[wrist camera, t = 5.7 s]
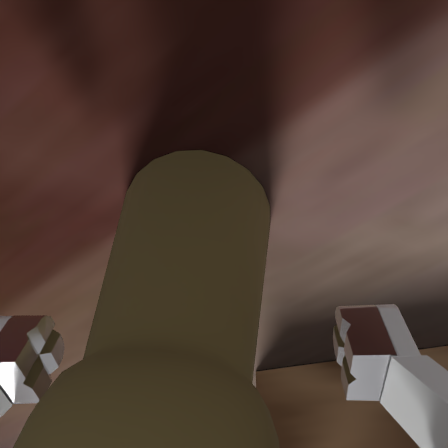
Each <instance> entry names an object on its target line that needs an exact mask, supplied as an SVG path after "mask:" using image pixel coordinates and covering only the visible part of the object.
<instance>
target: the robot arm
mask: <svg viewBox="0 0 448 448" xmlns="http://www.w3.org/2000/svg"><path fill="white" fill-rule="evenodd" d="M335 319H336V323H337V325H336V326H335V327H334V328H333V346H334V352H335V357H336V361H337V363H338V364H339V365H340V366H342V367H341V375H340V378H341V381H342V385H343V389H344V393H345V397H346V400H362V401H380V403H381V404H382V405H383V407H384V408H385V409H386V410H387V411H388V412H389V413H390V414H391V415H392V417H393V418H394V419H395V420H396V421H397V422H398V423H399V424H400V426H401V427H402V428H403V429H404V430H405V431H406V432H407V433H408V435H409V436H410V437H411V438H412V439H413V440H414V441H415V442H416V444H417V445H418V446H419V447H420V448H448V371H447V370H446V369H445V368H443V367H442V366H441V365H439V364H438V363H437V362H435V361H434V360H433V359H431V358H430V357H429V356H427V355H421V354H420V352H419V350H418V348H417V346H416V344H415V342H414V340H413V338H412V336H411V333H410V331H409V329H408V327H407V325H406V323H405V321H404V319H403V317H402V315H401V313H400V311H399V309H398V307H397V306H396V305H395V304H382V305H355V306H337V307H336V310H335ZM54 326H55V323H54V321H53V319H52V318H51V316H0V417H1V416H2V415H3V414H4V413H5V412H6V411H7V410H8V409H9V408H10V407H11V406H12V404H23V403H38V402H39V400H40V399H41V397H42V396H43V395H44V394H45V392H46V391H47V390H48V388H49V386H50V384H51V382H52V379H51V375H50V374H51V373H52V372H53V371H54V370H55V369H57V368H58V367H59V365H60V363H61V361H62V358H63V353H64V342H63V339H62V337H61V334H59V333H58V332H56V331H55V330H53V328H54Z"/></svg>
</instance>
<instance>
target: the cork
mask: <svg viewBox="0 0 448 448" xmlns="http://www.w3.org/2000/svg"><path fill="white" fill-rule="evenodd" d="M269 230H270V205H269V202H268V200H267V197H266V194H265V191H264V189H263V187H262V185H261V184H260V183H259V182H258V181H257V179H256V178H255V177H254V176H253V175H252V174H251V172H250V171H249V170H248V169H247V168H245V167H243V166H242V165H240V164H238V163H237V162H235V161H234V160H232V159H230V158H229V157H227V156H223V155H220V154H216V153H212V152H208V151H204V150H189V151H175V152H173V153H170V154H167V155H164V156H162V157H159V158H156V159H154V160H153V161H151V162H150V163H149V164H148V165H147V166H145V167H144V168H143V169H142V170H140V171H139V172H138V173H137V174H136V176H135V178H134V179H133V181H132V183H131V185H130V187H129V188H128V190H127V192H126V196H125V200H124V204H123V208H122V211H121V215H120V219H119V223H118V227H117V231H116V235H115V238H114V242H113V246H112V250H111V254H110V258H109V261H108V265H107V269H106V273H105V277H104V281H103V284H102V288H101V292H100V296H99V300H98V304H97V308H96V311H95V315H94V319H93V323H92V327H91V331H90V334H89V338H88V342H87V346H86V350H85V354H84V358H83V360H81V361H80V362H78V363H76V364H75V365H73V366H71V367H70V368H68V369H66V370H65V371H63V372H62V373H61V374H60V375H59V376H58V377H57V379H56V380H55V381H54V382H53V384H52V385H51V386H50V387H49V389H48V390H47V391H46V392H45V394H44V395H43V396H42V397H41V399H40V400H39V402H38V403H37V405H36V406H35V408H34V410H33V411H32V413H31V414H30V416H29V417H28V419H27V421H26V423H25V425H24V427H23V429H22V431H21V433H20V435H19V437H18V439H17V441H16V443H15V445H14V447H13V448H280V447H279V438H278V435H277V432H276V429H275V426H274V423H273V420H272V417H271V414H270V411H269V409H268V407H267V406H266V404H265V402H264V400H263V399H262V397H261V395H260V393H259V392H258V390H257V389H256V388H255V386H254V385H253V384H252V380H253V371H254V362H255V354H256V345H257V336H258V327H259V318H260V309H261V301H262V292H263V283H264V274H265V265H266V257H267V248H268V239H269Z"/></svg>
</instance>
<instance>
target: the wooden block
mask: <svg viewBox="0 0 448 448" xmlns="http://www.w3.org/2000/svg"><path fill="white" fill-rule="evenodd" d="M419 352H420V354H421V355H427V356H429V357H430V358H431V359H433V360H434V361H435V362H437V363H438V364H439V365H441V366H442V367H443V368H445V369H446V370H447V371H448V346H442V347H434V348H427V349H420V350H419ZM341 367H342V366H340V365H339V364H338V363H337V361H330V362H323V363H316V364H308V365H301V366H293V367H286V368H278V369H271V370H264V371H256V389H257V390H258V392H259V393H260V395H261V397H262V399H263V400H264V402H265V404H266V406H267V407H268V409H269V411H270V414H271V417H272V420H273V423H274V426H275V429H276V432H277V435H278V438H279V447H280V448H420V447H419V446H418V445H417V444H416V442H415V441H414V440H413V439H412V438H411V437H410V436H409V435H408V433H407V432H406V431H405V430H404V429H403V428H402V427H401V426H400V424H399V423H398V422H397V421H396V420H395V419H394V418H393V417H392V415H391V414H390V413H389V412H388V411H387V410H386V409H385V408H384V407H383V405H382V404H381V403H380V401H362V400H346V397H345V393H344V389H343V385H342V381H341V378H340V375H341Z"/></svg>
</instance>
